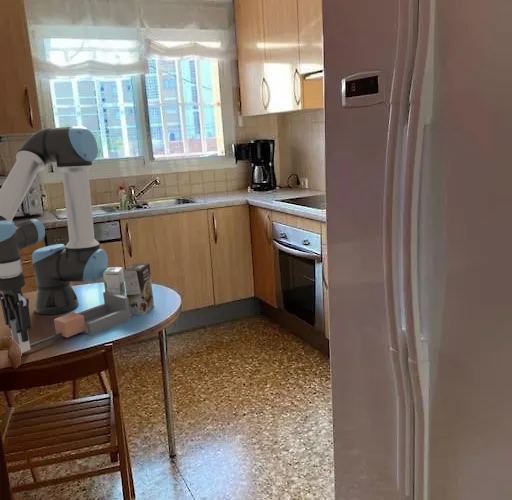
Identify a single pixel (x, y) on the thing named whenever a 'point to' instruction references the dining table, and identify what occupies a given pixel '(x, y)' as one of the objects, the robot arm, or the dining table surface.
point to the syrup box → (114, 280)
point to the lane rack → (106, 313)
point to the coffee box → (139, 288)
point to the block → (57, 327)
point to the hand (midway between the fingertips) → (22, 349)
